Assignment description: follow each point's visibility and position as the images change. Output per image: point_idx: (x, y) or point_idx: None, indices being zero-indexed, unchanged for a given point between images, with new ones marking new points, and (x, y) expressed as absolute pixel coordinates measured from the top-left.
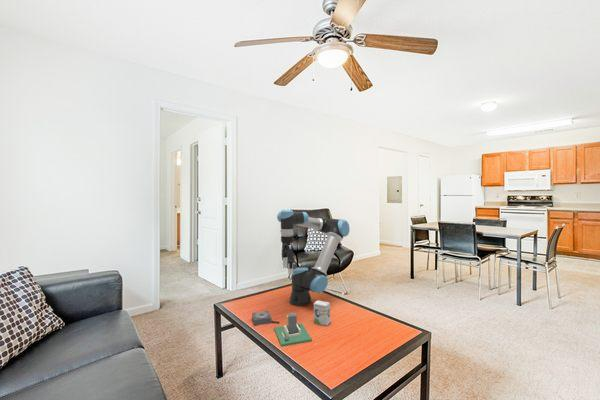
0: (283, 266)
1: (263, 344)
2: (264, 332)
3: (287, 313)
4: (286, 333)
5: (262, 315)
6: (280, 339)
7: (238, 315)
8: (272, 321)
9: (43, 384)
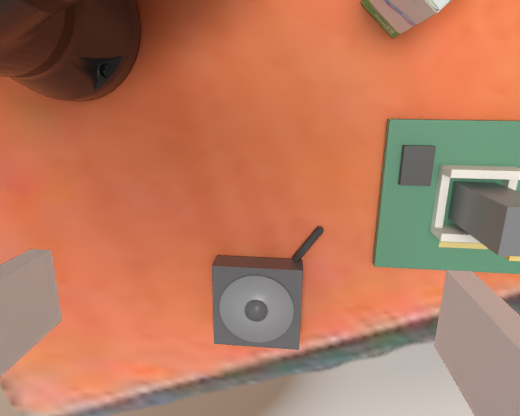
0: (40, 333)
1: None
2: (382, 307)
3: (498, 254)
4: None
5: (266, 308)
6: (502, 267)
7: (173, 376)
8: (301, 257)
9: None
